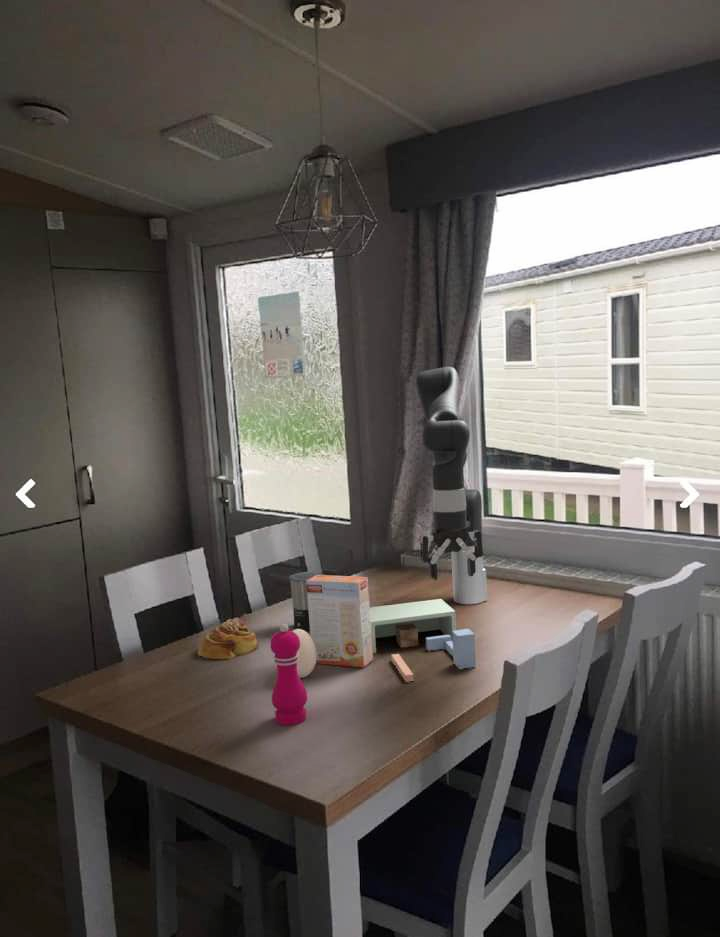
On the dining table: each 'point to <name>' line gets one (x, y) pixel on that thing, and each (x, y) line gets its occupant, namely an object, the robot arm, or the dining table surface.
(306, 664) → the egg
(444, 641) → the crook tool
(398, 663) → the straight stick
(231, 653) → the pastry
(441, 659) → the dining table surface
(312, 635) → the cracker box
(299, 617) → the milk frother
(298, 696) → the pepper mill
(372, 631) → the cubby
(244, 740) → the dining table surface
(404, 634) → the walnut cube
